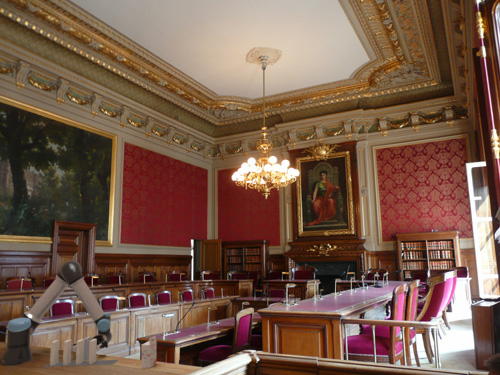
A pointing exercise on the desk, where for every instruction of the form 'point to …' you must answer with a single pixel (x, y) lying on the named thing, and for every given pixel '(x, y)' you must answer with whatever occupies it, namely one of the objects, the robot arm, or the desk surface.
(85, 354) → the slate domino
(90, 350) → the domino
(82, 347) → the domino
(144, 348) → the ink cartridge box
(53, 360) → the domino
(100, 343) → the robot arm
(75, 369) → the desk surface
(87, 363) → the runway mat
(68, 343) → the domino
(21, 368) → the desk surface
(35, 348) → the desk surface
